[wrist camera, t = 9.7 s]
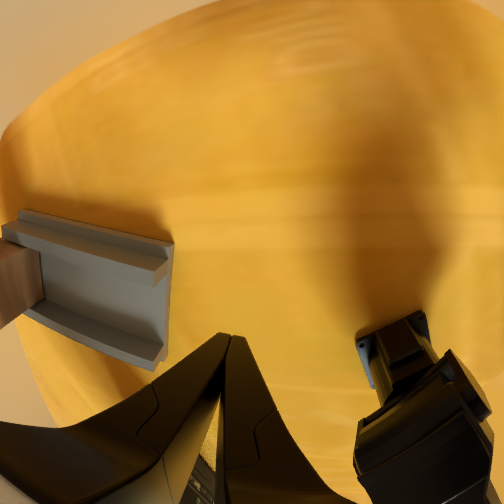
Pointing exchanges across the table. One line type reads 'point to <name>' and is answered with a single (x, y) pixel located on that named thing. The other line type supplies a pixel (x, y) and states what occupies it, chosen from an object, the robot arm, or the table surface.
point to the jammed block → (18, 280)
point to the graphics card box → (199, 485)
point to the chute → (100, 285)
